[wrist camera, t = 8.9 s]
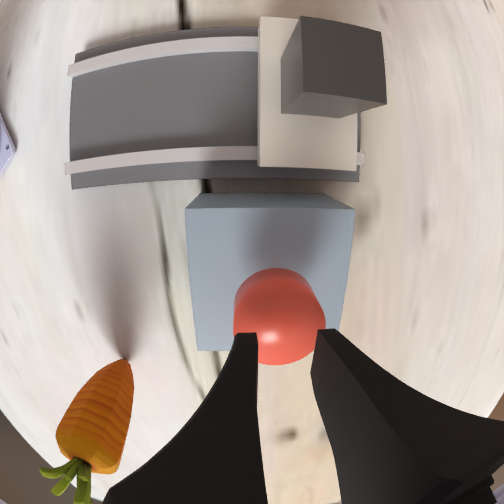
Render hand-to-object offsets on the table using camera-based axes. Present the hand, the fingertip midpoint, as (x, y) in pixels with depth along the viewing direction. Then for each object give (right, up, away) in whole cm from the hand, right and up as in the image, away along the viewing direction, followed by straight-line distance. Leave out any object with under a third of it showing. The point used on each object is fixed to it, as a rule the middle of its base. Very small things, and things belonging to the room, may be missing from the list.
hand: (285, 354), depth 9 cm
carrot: (-12, -6, +13) cm, 19 cm away
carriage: (+2, +12, +5) cm, 13 cm away
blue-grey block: (0, +3, +10) cm, 10 cm away
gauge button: (0, +1, +3) cm, 3 cm away
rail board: (-4, +13, +6) cm, 15 cm away
